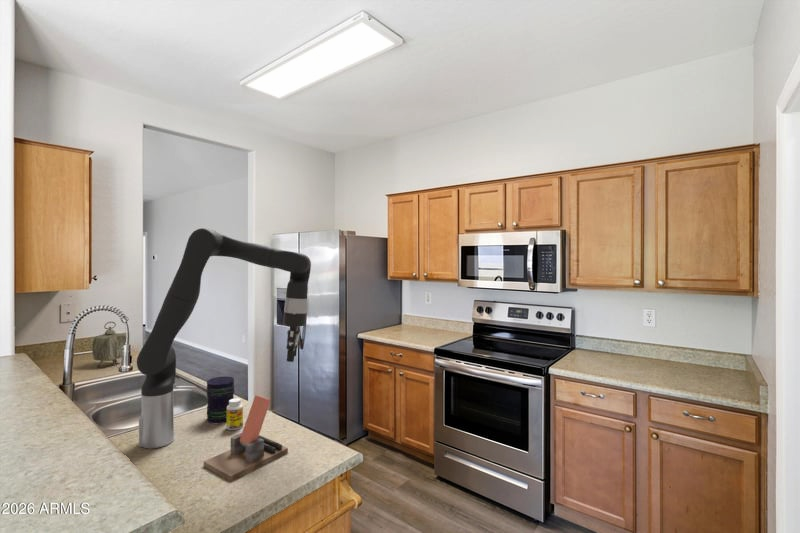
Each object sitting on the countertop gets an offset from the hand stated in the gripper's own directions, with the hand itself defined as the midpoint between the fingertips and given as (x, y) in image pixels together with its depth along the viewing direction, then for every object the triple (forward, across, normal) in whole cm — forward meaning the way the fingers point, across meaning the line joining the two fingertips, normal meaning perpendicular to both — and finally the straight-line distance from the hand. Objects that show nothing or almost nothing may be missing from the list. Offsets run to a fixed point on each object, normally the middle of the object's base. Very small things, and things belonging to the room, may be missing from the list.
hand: (291, 358), depth 137 cm
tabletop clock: (+31, -112, -109) cm, 159 cm away
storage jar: (+29, -24, -27) cm, 47 cm away
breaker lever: (+24, +10, -10) cm, 28 cm away
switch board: (+30, +10, -10) cm, 33 cm away
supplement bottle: (+29, -15, -19) cm, 38 cm away
